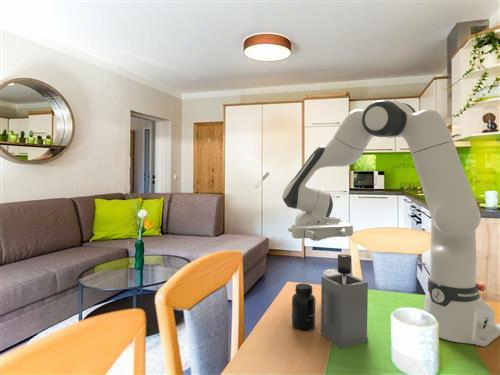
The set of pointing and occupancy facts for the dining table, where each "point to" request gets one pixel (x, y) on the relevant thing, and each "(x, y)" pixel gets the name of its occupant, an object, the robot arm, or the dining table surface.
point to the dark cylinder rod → (344, 266)
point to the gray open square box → (344, 310)
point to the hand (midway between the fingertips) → (329, 234)
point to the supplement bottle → (303, 308)
